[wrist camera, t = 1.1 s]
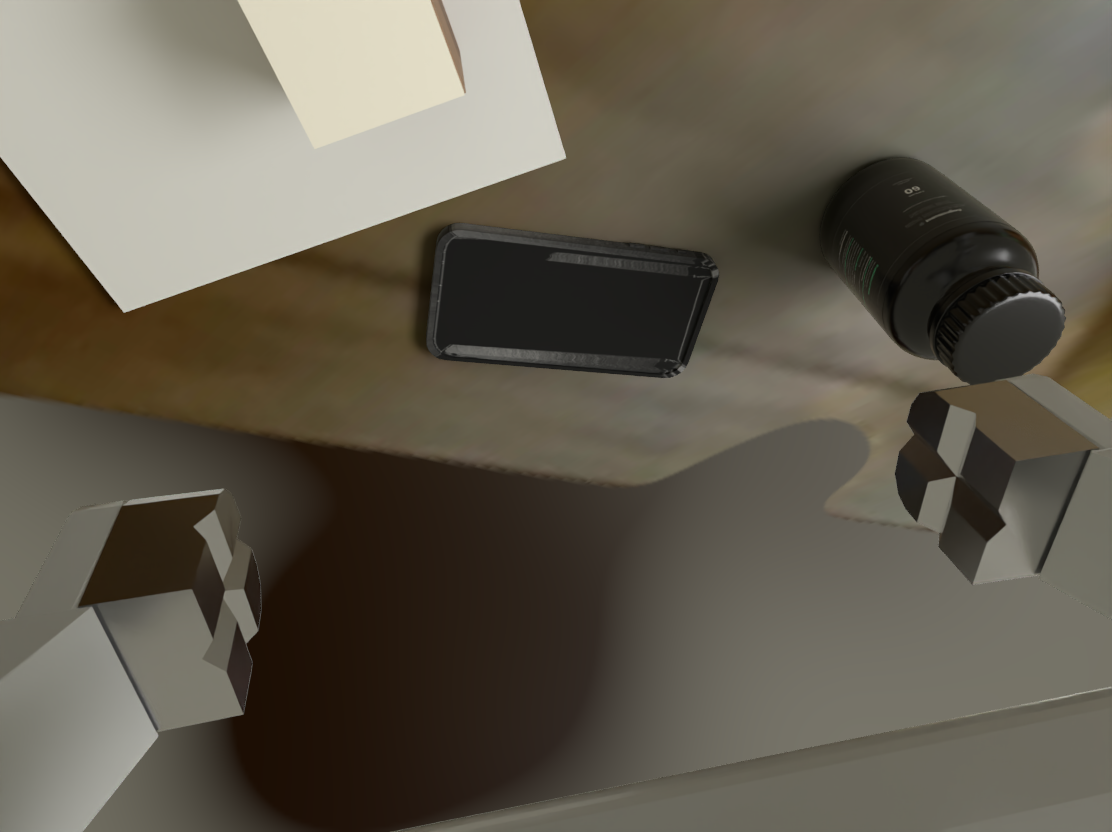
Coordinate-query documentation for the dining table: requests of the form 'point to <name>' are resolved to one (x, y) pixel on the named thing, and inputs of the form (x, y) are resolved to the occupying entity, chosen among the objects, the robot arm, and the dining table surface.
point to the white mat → (235, 137)
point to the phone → (566, 302)
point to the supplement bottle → (941, 271)
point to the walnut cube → (358, 60)
